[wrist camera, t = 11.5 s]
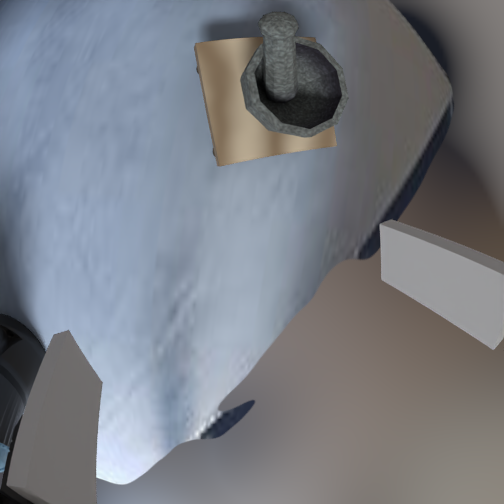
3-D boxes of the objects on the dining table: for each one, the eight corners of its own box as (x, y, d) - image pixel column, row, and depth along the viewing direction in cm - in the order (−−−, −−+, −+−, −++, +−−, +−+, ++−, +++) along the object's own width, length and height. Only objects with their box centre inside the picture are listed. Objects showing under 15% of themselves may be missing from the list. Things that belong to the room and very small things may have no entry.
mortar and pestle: (328, 103, 29) (400, 88, 18) (276, 157, 30) (338, 160, 19) (260, 34, 24) (309, -16, 14) (199, 86, 25) (221, 42, 14)
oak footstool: (211, 165, 34) (219, 166, 28) (190, 60, 29) (195, 43, 23) (313, 146, 36) (336, 146, 31) (294, 51, 31) (315, 37, 26)
